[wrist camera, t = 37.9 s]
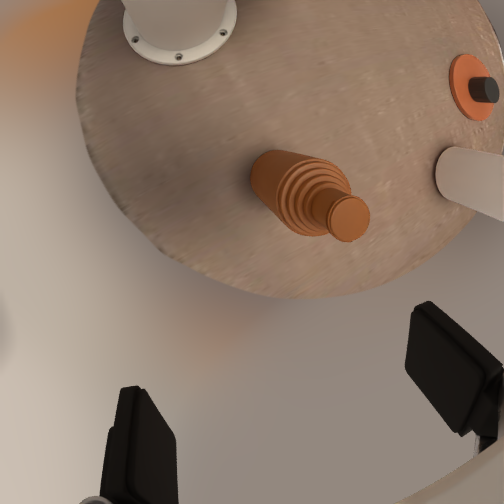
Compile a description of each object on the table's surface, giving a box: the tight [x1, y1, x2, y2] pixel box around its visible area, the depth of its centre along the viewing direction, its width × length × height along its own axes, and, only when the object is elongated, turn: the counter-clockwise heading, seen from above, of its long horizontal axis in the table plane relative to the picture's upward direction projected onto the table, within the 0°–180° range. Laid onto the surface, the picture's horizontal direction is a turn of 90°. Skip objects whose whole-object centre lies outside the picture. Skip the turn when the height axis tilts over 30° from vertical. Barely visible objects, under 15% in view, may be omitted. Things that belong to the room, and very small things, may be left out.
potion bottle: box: [435, 146, 504, 222], centre depth 31 cm, size 8×8×18 cm
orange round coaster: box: [449, 54, 494, 121], centre depth 35 cm, size 11×11×1 cm
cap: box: [468, 77, 499, 103], centre depth 33 cm, size 4×4×4 cm
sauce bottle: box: [250, 150, 370, 242], centre depth 27 cm, size 6×6×18 cm
